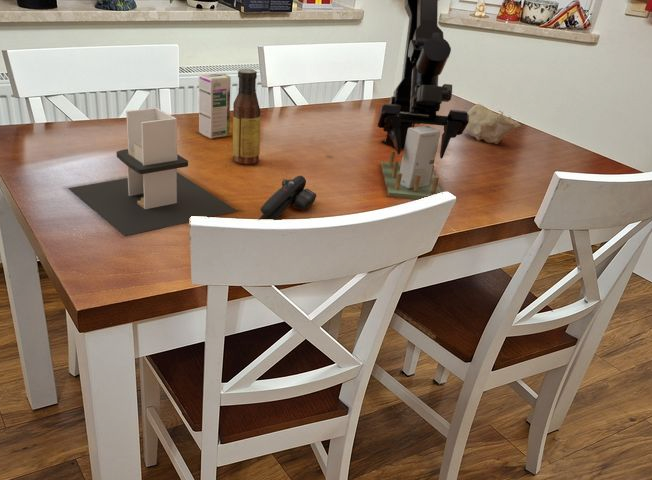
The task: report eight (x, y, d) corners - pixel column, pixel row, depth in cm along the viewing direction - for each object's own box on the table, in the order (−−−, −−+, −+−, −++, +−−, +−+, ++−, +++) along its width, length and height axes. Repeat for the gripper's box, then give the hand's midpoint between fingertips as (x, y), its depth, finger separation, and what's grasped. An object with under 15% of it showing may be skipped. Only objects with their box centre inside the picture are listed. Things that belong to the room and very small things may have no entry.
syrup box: (211, 139, 163) (212, 78, 155) (198, 132, 167) (198, 72, 159) (229, 136, 166) (231, 76, 158) (216, 129, 170) (217, 71, 162)
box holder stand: (67, 188, 131) (58, 103, 121) (173, 170, 144) (173, 92, 134) (125, 235, 115) (119, 143, 106) (238, 210, 128) (242, 126, 119)
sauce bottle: (263, 160, 153) (269, 71, 142) (250, 167, 148) (255, 75, 137) (239, 154, 155) (243, 65, 144) (226, 161, 151) (229, 70, 139)
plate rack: (380, 165, 157) (384, 147, 154) (430, 170, 157) (434, 151, 154) (387, 196, 140) (391, 176, 138) (443, 202, 140) (448, 181, 138)
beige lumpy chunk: (456, 137, 189) (458, 112, 174) (472, 117, 188) (475, 91, 174) (499, 166, 185) (505, 143, 170) (516, 145, 184) (523, 121, 170)
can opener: (290, 195, 137) (292, 168, 134) (319, 203, 134) (322, 177, 131) (244, 221, 124) (246, 193, 121) (276, 231, 121) (278, 203, 118)
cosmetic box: (409, 189, 142) (421, 133, 135) (396, 182, 145) (406, 127, 138) (430, 185, 145) (442, 131, 138) (416, 179, 148) (428, 125, 141)
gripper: (388, 63, 135) (383, 132, 132) (478, 71, 135) (475, 141, 132) (379, 93, 146) (374, 158, 143) (462, 101, 146) (459, 166, 143)
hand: (420, 155), depth 140 cm, fingers open, 9 cm apart
